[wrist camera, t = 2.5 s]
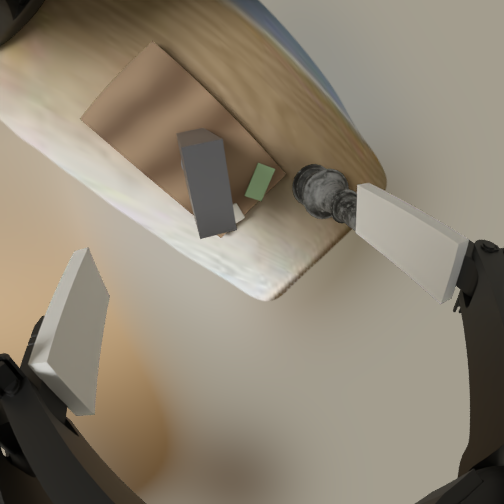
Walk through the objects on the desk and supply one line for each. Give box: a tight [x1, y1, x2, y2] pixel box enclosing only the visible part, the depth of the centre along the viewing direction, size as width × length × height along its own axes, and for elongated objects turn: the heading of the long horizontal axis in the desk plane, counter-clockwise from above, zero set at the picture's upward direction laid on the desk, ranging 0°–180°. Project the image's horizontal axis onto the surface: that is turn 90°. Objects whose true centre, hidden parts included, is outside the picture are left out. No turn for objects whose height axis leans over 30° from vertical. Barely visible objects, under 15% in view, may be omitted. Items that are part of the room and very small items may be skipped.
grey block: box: [176, 128, 237, 239], centre depth 23 cm, size 10×3×10 cm, turn 8°
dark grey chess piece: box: [293, 164, 357, 231], centre depth 29 cm, size 6×6×12 cm
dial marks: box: [233, 163, 275, 223], centre depth 30 cm, size 3×9×1 cm, turn 139°
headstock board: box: [80, 41, 286, 238], centre depth 26 cm, size 20×10×2 cm, turn 43°
